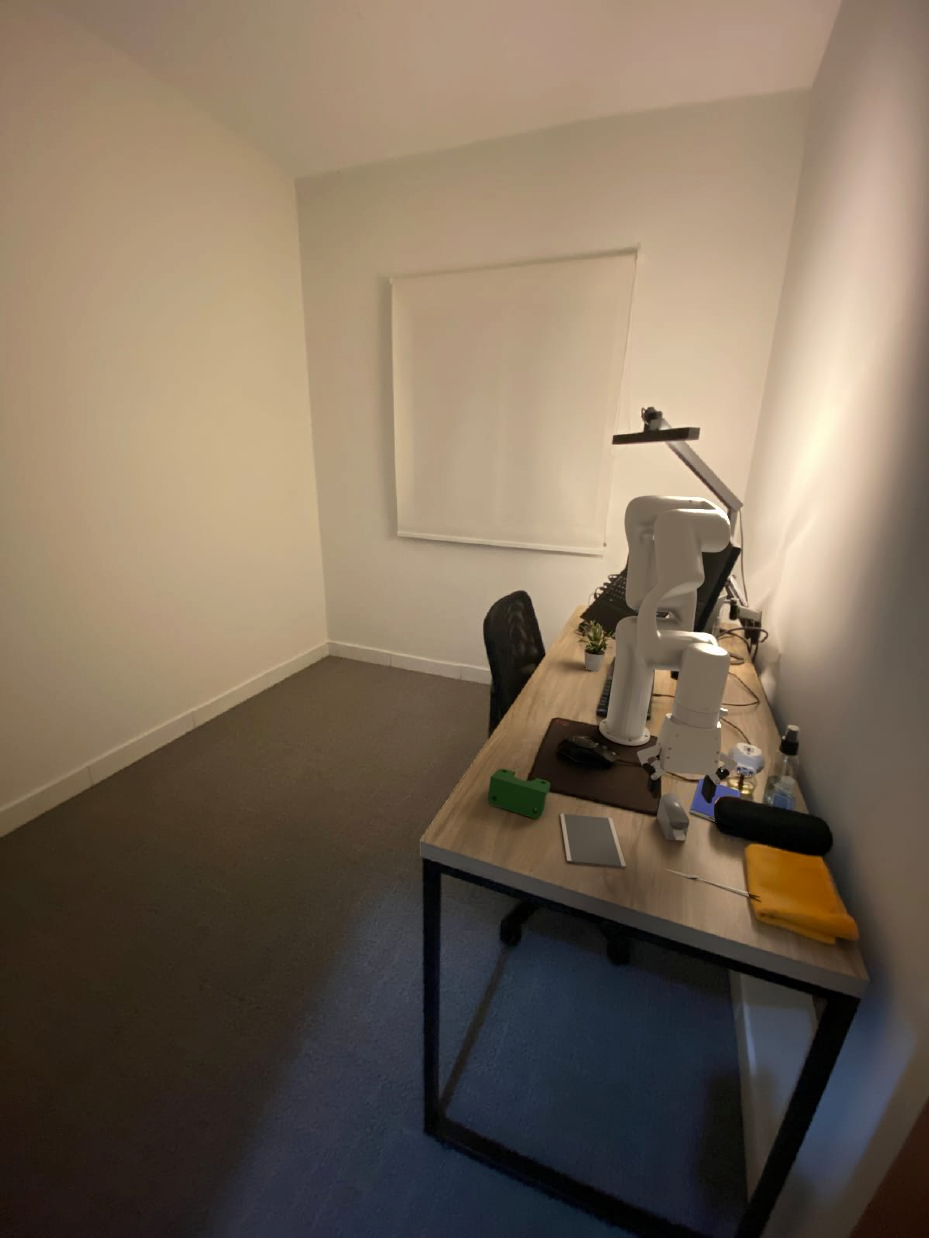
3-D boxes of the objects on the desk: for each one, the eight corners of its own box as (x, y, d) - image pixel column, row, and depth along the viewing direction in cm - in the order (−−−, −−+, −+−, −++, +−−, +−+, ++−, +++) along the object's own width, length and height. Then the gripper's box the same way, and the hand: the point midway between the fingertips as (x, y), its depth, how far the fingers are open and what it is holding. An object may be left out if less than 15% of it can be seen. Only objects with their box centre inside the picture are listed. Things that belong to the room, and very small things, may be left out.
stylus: (640, 849, 88) (761, 886, 81) (639, 853, 88) (759, 891, 82) (638, 866, 84) (764, 906, 78) (638, 870, 85) (763, 911, 78)
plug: (656, 817, 97) (661, 792, 96) (674, 819, 97) (680, 793, 95) (669, 846, 90) (674, 820, 88) (688, 848, 90) (694, 821, 88)
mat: (559, 815, 97) (560, 813, 97) (611, 819, 96) (611, 818, 96) (567, 862, 85) (567, 860, 85) (625, 868, 85) (625, 865, 85)
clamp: (535, 821, 101) (559, 787, 99) (528, 834, 96) (552, 798, 94) (488, 784, 105) (510, 751, 103) (479, 794, 99) (501, 759, 97)
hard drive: (699, 777, 109) (690, 808, 99) (741, 791, 105) (735, 824, 95) (698, 783, 109) (689, 814, 99) (739, 797, 105) (734, 831, 95)
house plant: (563, 659, 174) (567, 615, 169) (599, 658, 177) (605, 615, 172) (579, 676, 161) (584, 629, 156) (618, 674, 163) (625, 628, 158)
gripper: (736, 707, 89) (718, 788, 94) (639, 700, 91) (627, 780, 95) (756, 727, 82) (736, 813, 87) (651, 719, 83) (637, 805, 88)
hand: (679, 796), depth 91 cm, fingers open, 9 cm apart
